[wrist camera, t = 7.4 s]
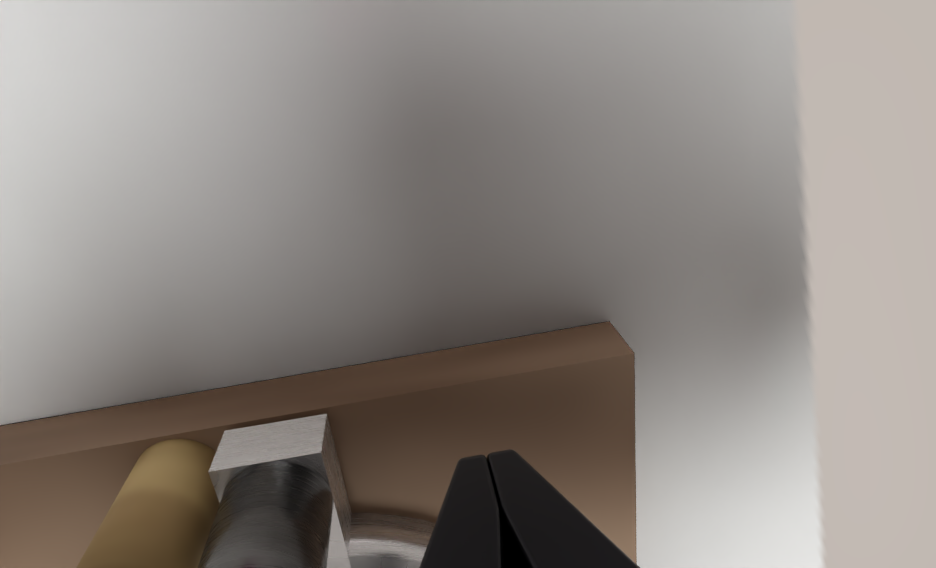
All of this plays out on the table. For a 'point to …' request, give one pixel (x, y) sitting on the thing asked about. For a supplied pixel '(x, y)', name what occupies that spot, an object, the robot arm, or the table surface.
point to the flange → (298, 506)
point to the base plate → (355, 438)
